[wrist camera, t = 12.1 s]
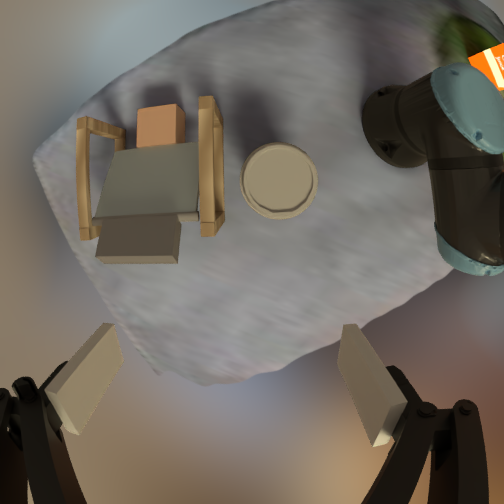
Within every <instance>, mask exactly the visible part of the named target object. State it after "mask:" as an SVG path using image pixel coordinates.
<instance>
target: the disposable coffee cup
mask: <svg viewBox="0 0 504 504" xmlns="http://www.w3.org/2000/svg"><path fill="white" fill-rule="evenodd" d="M317 186H318V176H317V171H316V168H315V166H314V163H313V162H312V160H311V159H310V157H309V156H308V155H307V154H306V153H305V152H304V151H303V150H301V149H300V148H298V147H297V146H294V145H292V144H289V143H284V142H273V143H268V144H265V145H263V146H260V147H259V148H257V149H255V150H254V151H253V152H252V153H251V154H250V155H249V156H248V157H247V159H246V160H245V162H244V164H243V166H242V169H241V174H240V187H241V192H242V194H243V196H244V199H245V200H246V202H247V203H248V205H249V206H250V207H251V208H252V209H253V210H254V211H256V212H257V213H259V214H260V215H262V216H265V217H267V218H271V219H287V218H291V217H294V216H296V215H298V214H300V213H301V212H303V211H304V210H305V209H306V208H307V207H308V206H309V205H310V204H311V202H312V201H313V199H314V197H315V194H316V191H317Z"/></svg>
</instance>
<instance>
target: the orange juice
mask: <svg viewBox="0 0 504 504" xmlns="http://www.w3.org/2000/svg"><path fill="white" fill-rule="evenodd" d="M469 61H470V63H471V65H472V66H474V67H475V68H477V69H479V70H480V71H481V72H483V73H484V74H485V75H486V76H487V77H488V78H489V80H490V81H491V82H493V83H494V85H495V86H496V87H497V89H498V90H504V43H503V44H500V45H498V46H495V47H493V48H490V49H487V50H485V51H483V52H481V53H478V54H476V55H474V56H472V57H469Z"/></svg>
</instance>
